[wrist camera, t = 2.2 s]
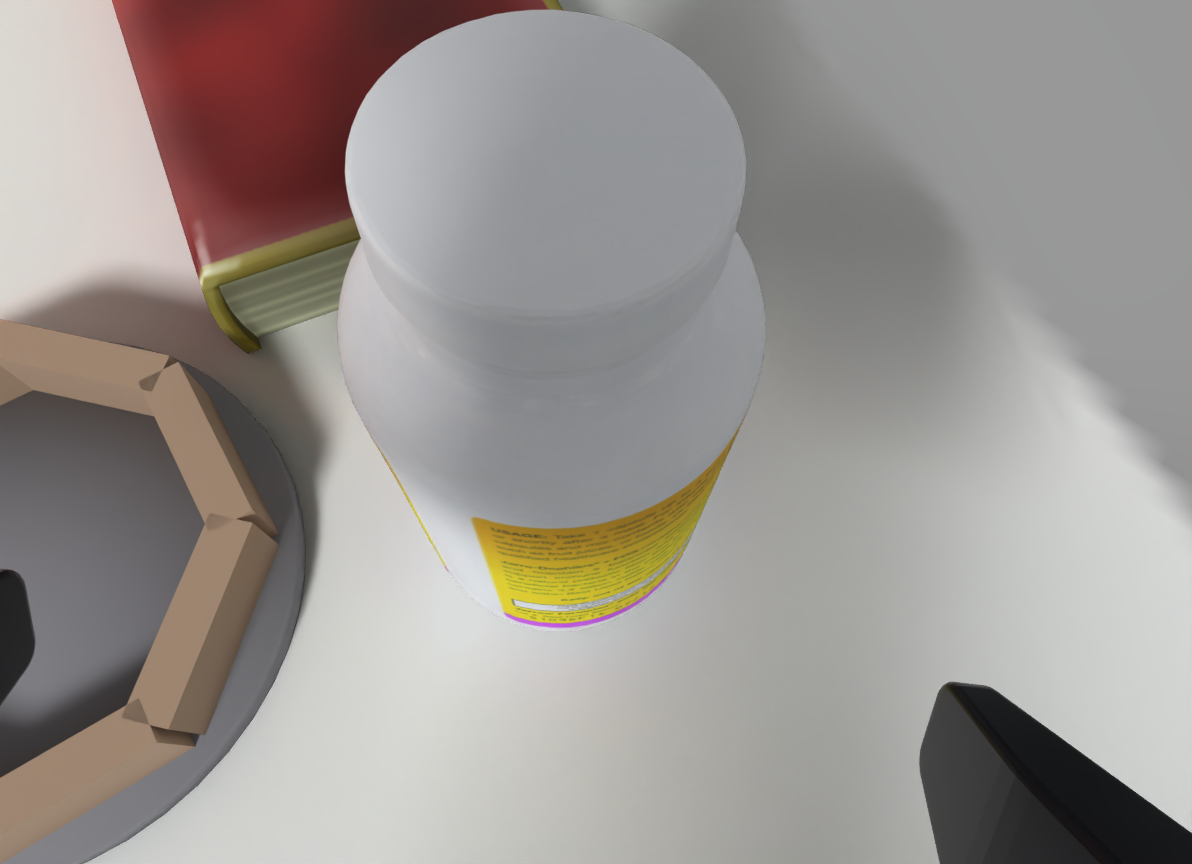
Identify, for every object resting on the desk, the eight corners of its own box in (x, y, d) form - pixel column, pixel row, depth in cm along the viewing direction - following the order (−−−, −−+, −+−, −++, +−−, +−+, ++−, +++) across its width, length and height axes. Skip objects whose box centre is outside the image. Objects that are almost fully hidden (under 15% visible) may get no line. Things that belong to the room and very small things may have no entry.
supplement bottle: (739, 492, 21) (949, 131, 10) (576, 694, 19) (589, 547, 7) (547, 347, 23) (525, -116, 11) (377, 519, 21) (126, 168, 9)
